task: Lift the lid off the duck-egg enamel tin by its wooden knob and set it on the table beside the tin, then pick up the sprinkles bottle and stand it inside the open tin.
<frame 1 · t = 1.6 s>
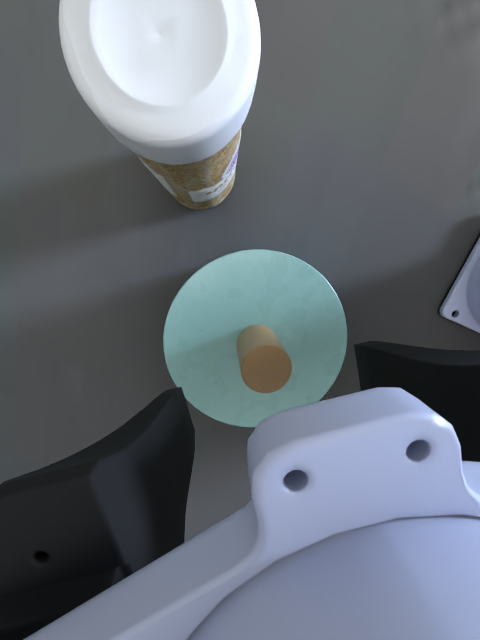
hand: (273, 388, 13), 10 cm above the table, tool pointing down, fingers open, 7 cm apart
sprinkles bottle: (199, 172, 20), on the table
tin lid: (255, 341, 19), point 3 cm above the table, touching tin
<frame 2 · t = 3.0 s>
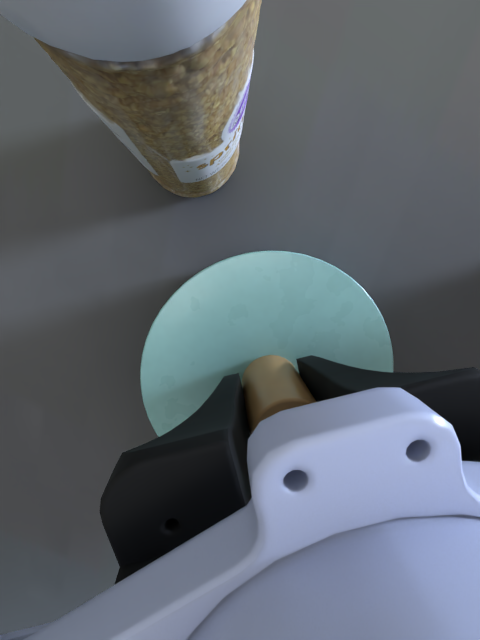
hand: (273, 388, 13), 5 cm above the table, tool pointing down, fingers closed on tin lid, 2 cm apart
sprinkles bottle: (191, 148, 15), on the table
tin lid: (268, 376, 14), point 3 cm above the table, touching gripper, tin
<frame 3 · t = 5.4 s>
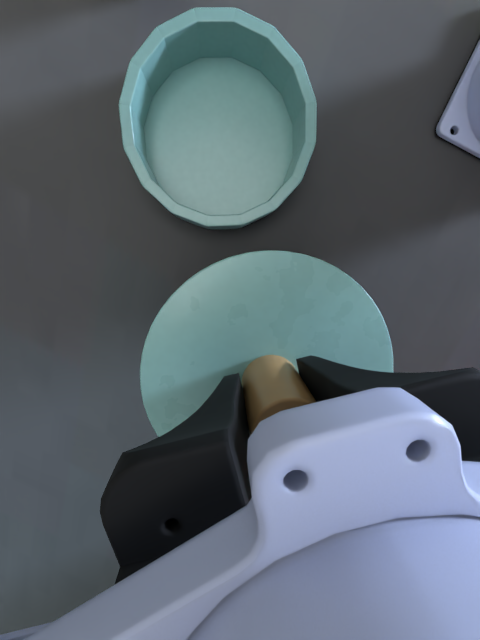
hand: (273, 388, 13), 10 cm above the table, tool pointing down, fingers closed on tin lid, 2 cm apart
tin: (220, 145, 20), on the table
tin lid: (267, 376, 14), point 9 cm above the table, touching gripper
when the fingers open (2 cm above the table, at t = 7.5 s): tin lid stays where it is, point 1 cm above the table.
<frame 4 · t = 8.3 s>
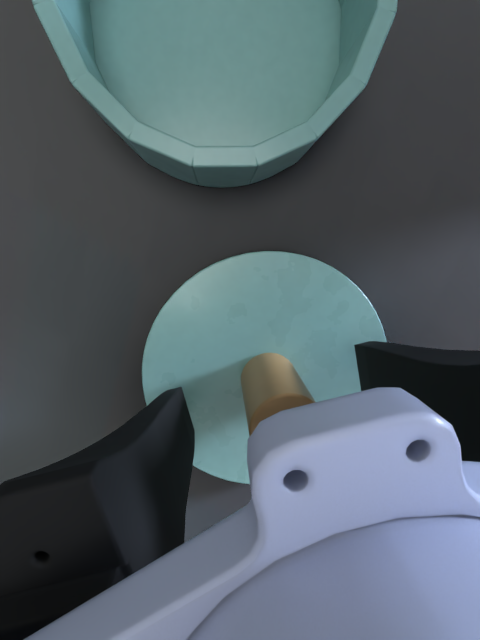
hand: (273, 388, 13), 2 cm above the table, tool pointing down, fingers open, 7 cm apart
tin: (219, 44, 12), on the table
tin lid: (266, 373, 14), point 1 cm above the table
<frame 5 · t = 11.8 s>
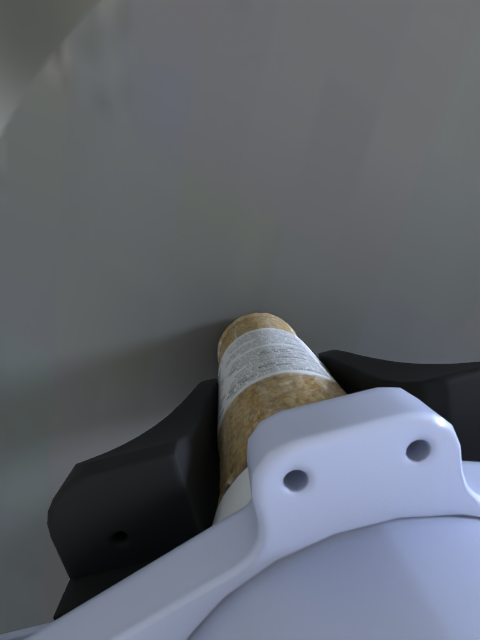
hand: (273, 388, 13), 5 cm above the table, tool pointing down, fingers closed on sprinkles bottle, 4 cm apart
sprinkles bottle: (256, 349, 18), on the table, touching gripper
when the fingers open (5 cm above the table, at t = 16.0 s): sprinkles bottle stays where it is, resting on tin.
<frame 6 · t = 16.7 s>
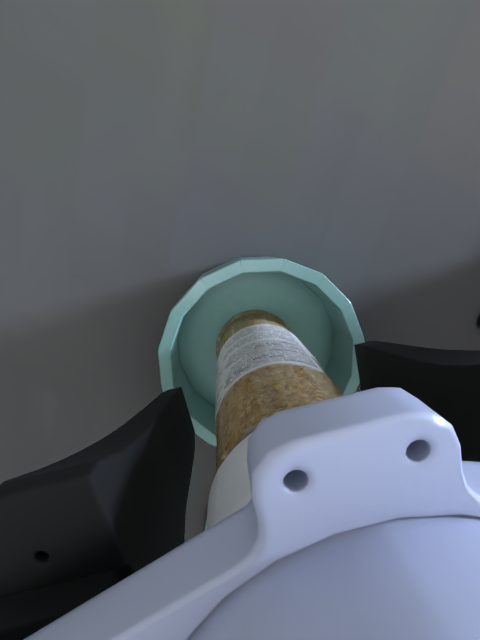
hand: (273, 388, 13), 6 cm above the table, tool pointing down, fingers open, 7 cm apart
tin: (255, 342, 19), on the table
sprinkles bottle: (253, 345, 19), resting on tin
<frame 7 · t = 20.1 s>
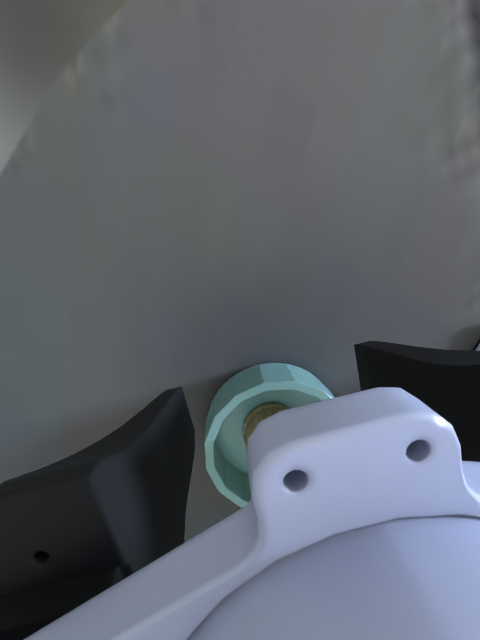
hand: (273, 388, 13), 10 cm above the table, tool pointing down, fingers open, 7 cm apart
tin: (271, 423, 25), on the table
sprinkles bottle: (270, 425, 24), resting on tin
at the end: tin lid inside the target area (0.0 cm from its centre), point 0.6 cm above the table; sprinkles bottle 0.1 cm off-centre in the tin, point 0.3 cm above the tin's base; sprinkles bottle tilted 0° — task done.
